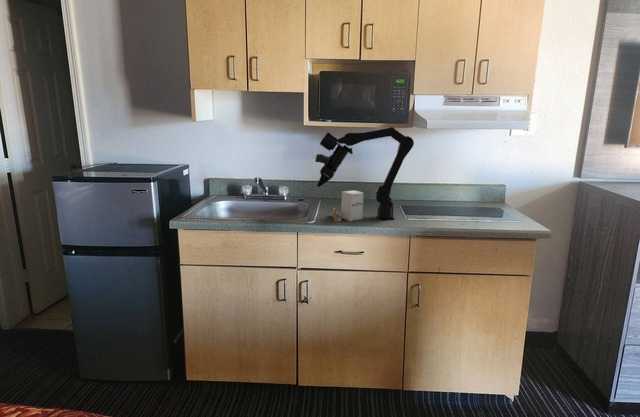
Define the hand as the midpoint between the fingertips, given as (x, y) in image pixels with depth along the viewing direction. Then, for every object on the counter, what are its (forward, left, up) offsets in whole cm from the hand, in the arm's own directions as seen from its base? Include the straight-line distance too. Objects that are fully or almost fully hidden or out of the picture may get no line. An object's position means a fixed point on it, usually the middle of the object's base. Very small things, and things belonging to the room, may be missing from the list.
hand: (319, 184), depth 197 cm
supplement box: (-12, +10, -15) cm, 22 cm away
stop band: (-6, +8, -15) cm, 18 cm away
